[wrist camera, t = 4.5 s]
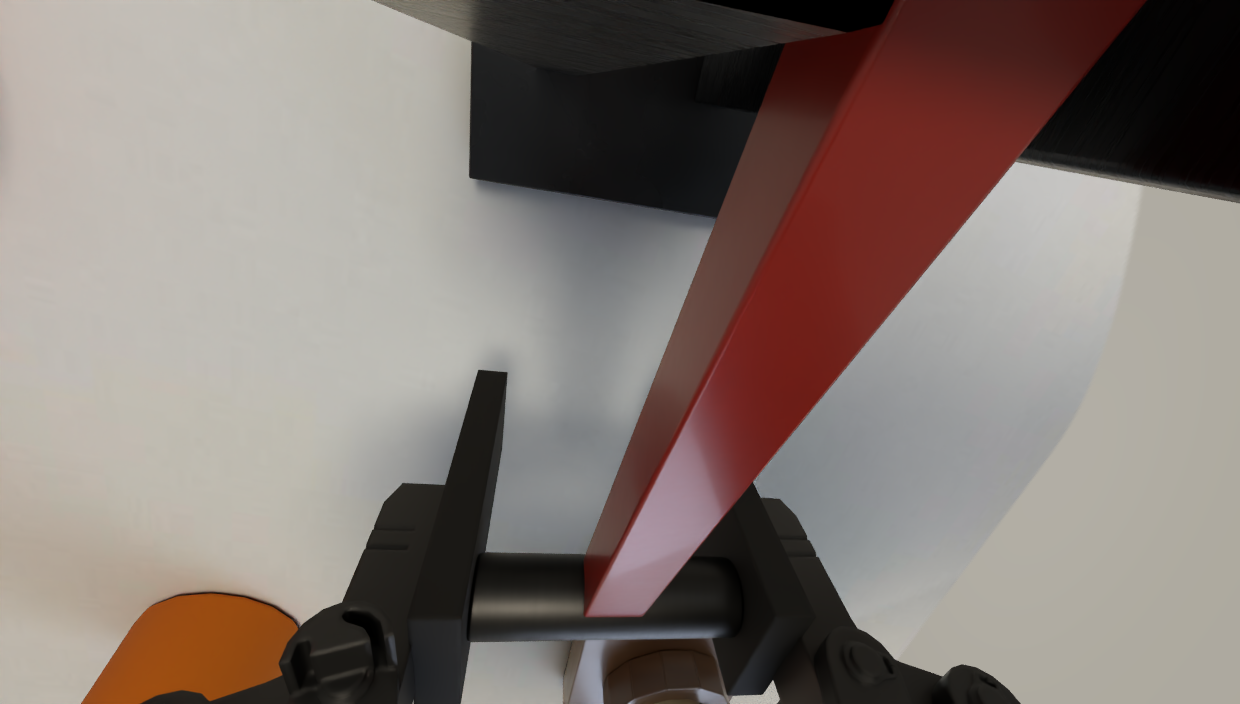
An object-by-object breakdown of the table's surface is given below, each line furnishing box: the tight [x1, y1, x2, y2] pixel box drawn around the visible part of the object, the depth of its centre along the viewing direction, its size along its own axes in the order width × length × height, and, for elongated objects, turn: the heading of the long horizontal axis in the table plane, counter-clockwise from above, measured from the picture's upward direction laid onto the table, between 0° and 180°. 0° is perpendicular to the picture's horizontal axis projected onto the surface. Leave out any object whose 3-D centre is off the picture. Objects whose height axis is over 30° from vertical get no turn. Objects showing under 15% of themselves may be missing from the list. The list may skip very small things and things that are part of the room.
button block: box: [563, 638, 732, 704], centre depth 26 cm, size 10×9×4 cm
